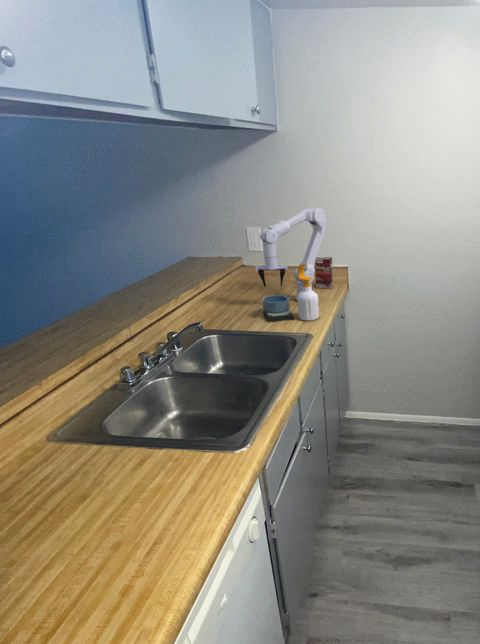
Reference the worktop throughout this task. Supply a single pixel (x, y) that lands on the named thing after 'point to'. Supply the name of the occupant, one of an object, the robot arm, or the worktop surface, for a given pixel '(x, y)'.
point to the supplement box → (323, 272)
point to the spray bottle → (307, 298)
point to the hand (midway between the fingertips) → (273, 285)
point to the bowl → (276, 304)
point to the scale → (278, 316)
